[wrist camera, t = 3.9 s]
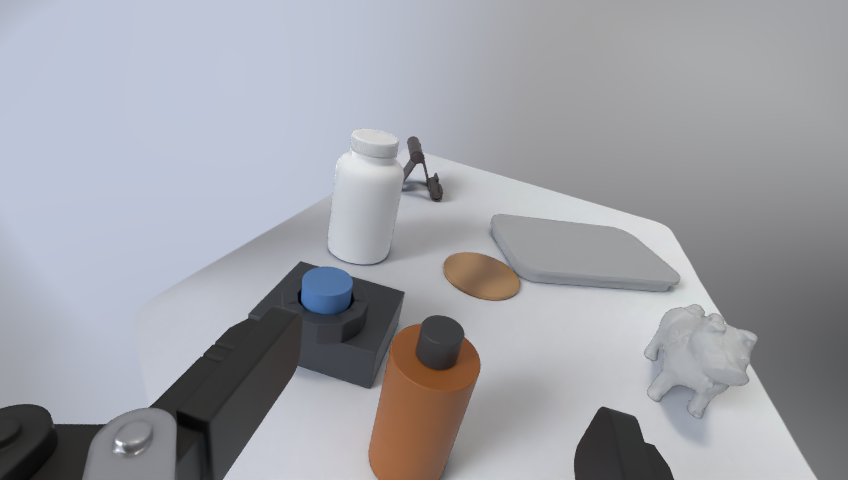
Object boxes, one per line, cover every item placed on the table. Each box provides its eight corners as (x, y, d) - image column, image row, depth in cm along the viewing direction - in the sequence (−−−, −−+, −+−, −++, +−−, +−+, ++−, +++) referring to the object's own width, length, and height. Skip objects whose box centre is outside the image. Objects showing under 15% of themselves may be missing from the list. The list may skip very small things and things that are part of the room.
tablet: (482, 224, 67) (486, 212, 66) (619, 239, 73) (625, 228, 72) (517, 283, 53) (523, 269, 52) (682, 296, 59) (690, 283, 58)
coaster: (436, 285, 49) (437, 282, 49) (449, 248, 58) (450, 245, 58) (518, 309, 48) (519, 306, 48) (518, 267, 57) (520, 264, 57)
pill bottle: (373, 274, 49) (394, 153, 42) (314, 252, 50) (324, 131, 43) (398, 246, 56) (420, 138, 48) (346, 228, 57) (359, 120, 50)
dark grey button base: (241, 357, 34) (240, 301, 32) (298, 292, 43) (301, 243, 40) (365, 398, 33) (376, 343, 30) (398, 323, 42) (408, 275, 39)
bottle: (357, 478, 28) (384, 346, 22) (381, 411, 33) (409, 290, 27) (437, 506, 27) (486, 378, 21) (450, 434, 32) (492, 314, 26)
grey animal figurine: (650, 428, 37) (713, 338, 32) (639, 342, 47) (684, 265, 42) (714, 455, 35) (791, 367, 30) (688, 360, 46) (741, 284, 41)
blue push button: (292, 307, 33) (293, 286, 32) (314, 281, 36) (315, 261, 35) (339, 321, 32) (341, 301, 31) (357, 293, 36) (359, 274, 35)
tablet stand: (441, 203, 72) (452, 157, 68) (396, 196, 70) (405, 149, 66) (435, 184, 79) (444, 141, 75) (394, 177, 78) (402, 134, 74)
